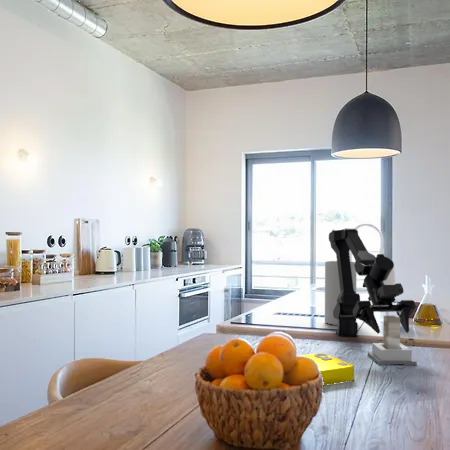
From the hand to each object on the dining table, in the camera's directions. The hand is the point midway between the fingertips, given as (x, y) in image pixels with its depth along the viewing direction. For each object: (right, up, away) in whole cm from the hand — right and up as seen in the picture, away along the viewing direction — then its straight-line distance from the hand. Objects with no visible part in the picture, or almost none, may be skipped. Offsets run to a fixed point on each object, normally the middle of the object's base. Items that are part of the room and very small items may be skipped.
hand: (393, 332), depth 151 cm
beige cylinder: (0, -8, +1) cm, 8 cm away
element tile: (-26, -9, -16) cm, 31 cm away
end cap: (0, -9, +1) cm, 9 cm away
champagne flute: (+18, -9, +62) cm, 65 cm away
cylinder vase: (-3, -8, +57) cm, 57 cm away
